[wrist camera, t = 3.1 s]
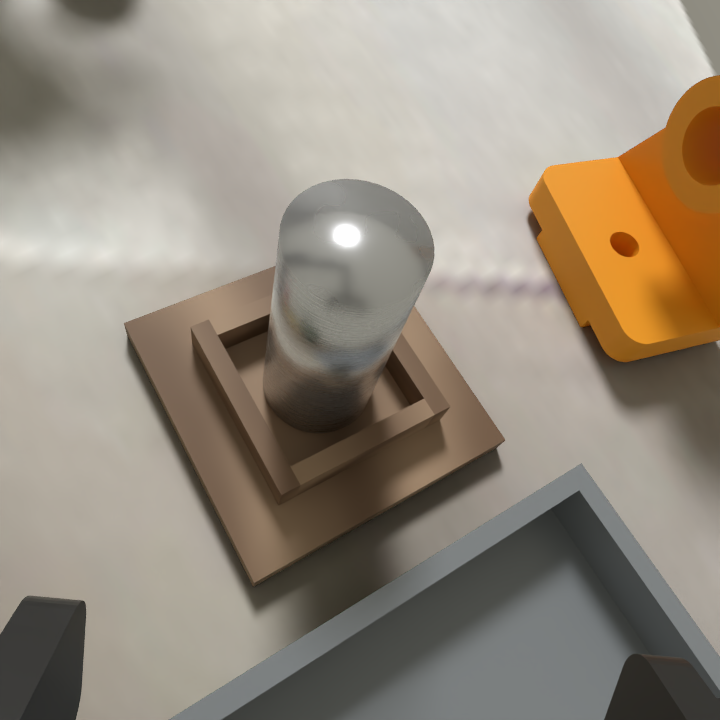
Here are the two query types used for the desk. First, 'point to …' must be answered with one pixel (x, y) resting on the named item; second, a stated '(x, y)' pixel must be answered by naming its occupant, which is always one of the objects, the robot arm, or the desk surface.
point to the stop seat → (295, 447)
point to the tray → (486, 628)
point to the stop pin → (340, 299)
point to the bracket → (642, 234)
